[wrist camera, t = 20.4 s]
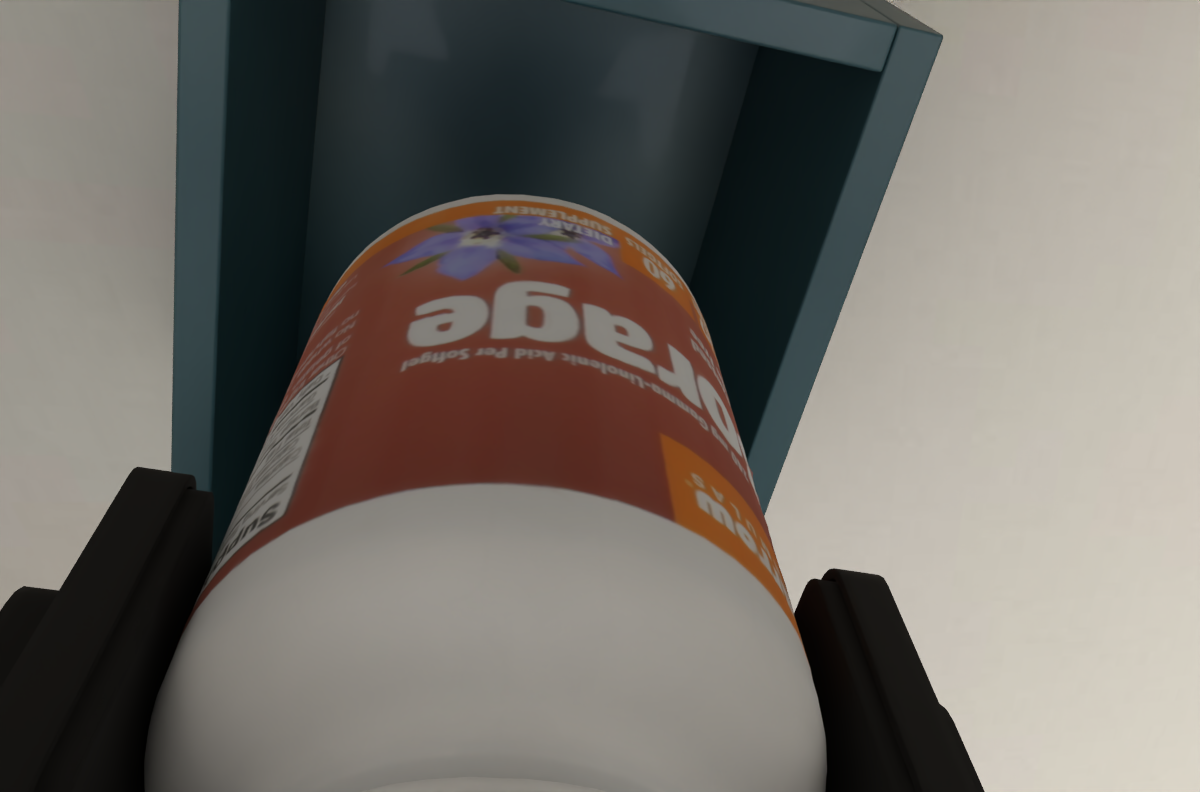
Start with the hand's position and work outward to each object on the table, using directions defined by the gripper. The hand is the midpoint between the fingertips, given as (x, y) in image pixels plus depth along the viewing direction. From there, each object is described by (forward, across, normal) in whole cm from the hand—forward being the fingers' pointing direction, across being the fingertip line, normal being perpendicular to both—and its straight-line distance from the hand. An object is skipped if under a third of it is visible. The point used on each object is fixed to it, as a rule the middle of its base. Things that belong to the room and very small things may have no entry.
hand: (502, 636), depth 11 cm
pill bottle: (+6, 0, 0) cm, 6 cm away
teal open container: (+19, 0, +2) cm, 19 cm away
